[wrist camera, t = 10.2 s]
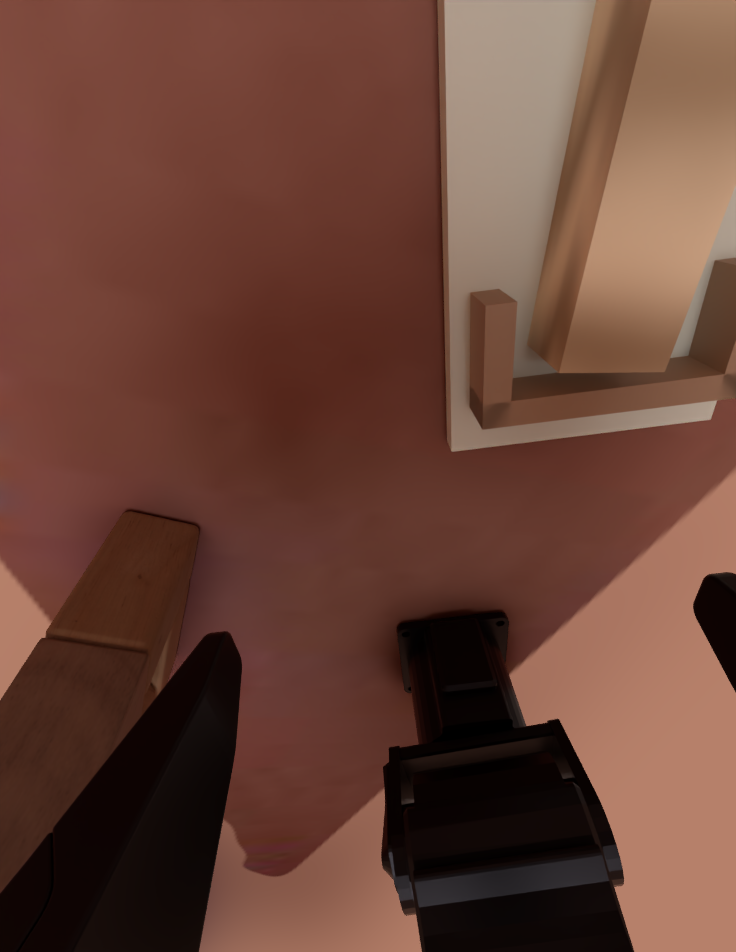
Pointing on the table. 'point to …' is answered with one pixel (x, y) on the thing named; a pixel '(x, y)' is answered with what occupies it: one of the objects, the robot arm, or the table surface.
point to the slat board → (541, 241)
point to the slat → (639, 185)
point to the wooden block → (91, 676)
